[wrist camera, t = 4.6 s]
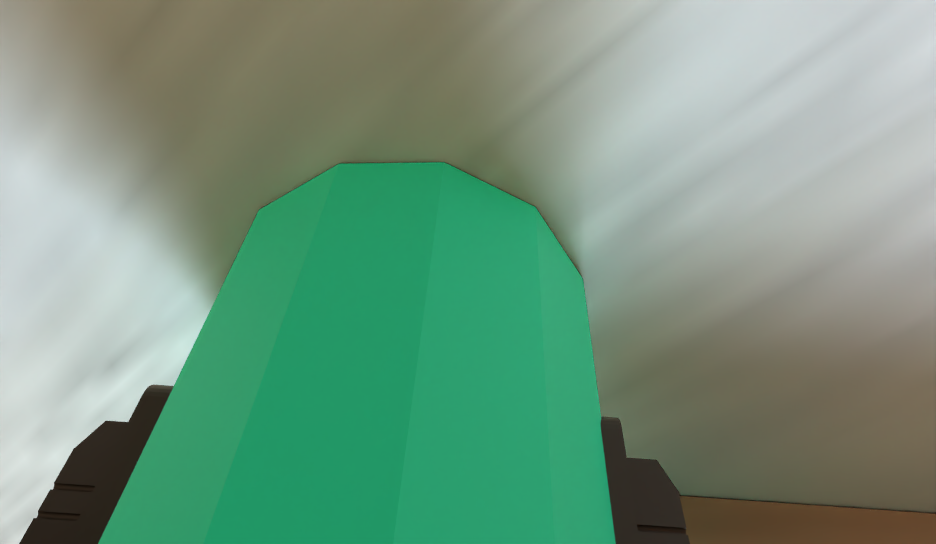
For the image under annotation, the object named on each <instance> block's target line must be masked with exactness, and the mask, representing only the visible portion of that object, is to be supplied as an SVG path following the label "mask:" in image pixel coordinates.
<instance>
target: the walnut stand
mask: <svg viewBox="0 0 936 544" xmlns="http://www.w3.org/2000/svg"><path fill="white" fill-rule="evenodd" d="M680 500H681V505H682V510H683V514H684V519H685V524H686V535H688V537H689V542H690V544H936V514H932V513H918V512H903V511H889V510H875V509H860V508H846V507H832V506H817V505H803V504H789V503H774V502H760V501H746V500H731V499H717V498H703V497H688V496H680Z"/></svg>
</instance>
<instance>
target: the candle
mask: <svg viewBox="0 0 936 544" xmlns="http://www.w3.org/2000/svg"><path fill="white" fill-rule="evenodd" d="M98 544H616V542H615V534H614V526H613V519H612V511H611V503H610V495H609V488H608V480H607V472H606V464H605V457H604V449H603V441H602V433H601V412H600V404H599V397H598V389H597V381H596V374H595V366H594V359H593V351H592V343H591V336H590V328H589V321H588V313H587V305H586V298H585V290H584V282H583V278H582V277H581V275H580V274H579V272H578V271H577V269H576V268H575V266H574V265H573V263H572V262H571V260H570V259H569V257H568V255H567V254H566V252H565V251H564V249H563V248H562V246H561V245H560V243H559V242H558V240H557V239H556V237H555V236H554V234H553V233H552V231H551V230H550V228H549V227H548V225H547V224H546V222H545V221H544V219H543V218H542V216H541V215H540V213H539V212H538V210H537V209H536V207H534V206H532V205H530V204H528V203H526V202H524V201H522V200H520V199H518V198H516V197H514V196H512V195H510V194H508V193H506V192H504V191H502V190H500V189H498V188H496V187H494V186H492V185H490V184H487V183H485V182H483V181H481V180H479V179H477V178H475V177H473V176H471V175H469V174H467V173H465V172H463V171H461V170H459V169H457V168H455V167H453V166H451V165H449V164H447V163H445V162H426V163H350V164H338V165H336V166H334V167H332V168H331V169H329V170H327V171H326V172H324V173H322V174H320V175H319V176H317V177H315V178H313V179H312V180H310V181H308V182H306V183H305V184H303V185H301V186H300V187H298V188H296V189H294V190H293V191H291V192H289V193H287V194H286V195H284V196H282V197H280V198H279V199H277V200H275V201H273V202H272V203H270V204H268V205H267V206H265V207H263V208H261V209H260V210H259V211H258V213H257V215H256V217H255V219H254V221H253V223H252V225H251V227H250V229H249V232H248V234H247V236H246V238H245V240H244V242H243V244H242V246H241V248H240V250H239V252H238V254H237V256H236V258H235V261H234V263H233V265H232V267H231V269H230V271H229V273H228V275H227V277H226V279H225V281H224V283H223V285H222V288H221V290H220V292H219V294H218V296H217V298H216V300H215V302H214V304H213V306H212V308H211V310H210V312H209V315H208V317H207V319H206V321H205V323H204V325H203V327H202V329H201V331H200V333H199V335H198V337H197V339H196V341H195V344H194V346H193V348H192V350H191V352H190V354H189V356H188V358H187V360H186V362H185V364H184V366H183V368H182V371H181V373H180V375H179V377H178V379H177V381H176V383H175V385H174V387H173V389H172V391H171V393H170V395H169V398H168V400H167V402H166V404H165V406H164V408H163V410H162V412H161V414H160V416H159V418H158V420H157V422H156V424H155V427H154V429H153V431H152V433H151V435H150V437H149V439H148V441H147V443H146V445H145V447H144V449H143V451H142V454H141V456H140V458H139V460H138V462H137V464H136V466H135V468H134V470H133V472H132V474H131V476H130V478H129V481H128V483H127V485H126V487H125V489H124V491H123V493H122V495H121V497H120V499H119V501H118V503H117V505H116V507H115V510H114V512H113V514H112V516H111V518H110V520H109V522H108V524H107V526H106V528H105V530H104V532H103V534H102V537H101V539H100V541H99V543H98Z"/></svg>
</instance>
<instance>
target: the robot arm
mask: <svg viewBox="0 0 936 544" xmlns="http://www.w3.org/2000/svg"><path fill="white" fill-rule="evenodd" d="M173 387H174V386H164V385H151V386H149V387H148V388H147V389H146V390H145V392H144V393H143V395H142V397H141V399H140V401H139V403H138V405H137V407H136V408H135V410H134V412H133V414H132V416H131V418H130V420H129V422H116V421H105V422H104V423H103V424H102V425H101V426H99V427H98V428H97V429H96V430H95V431H94V432H93V433H91V434H90V435H89V436H88V437H87V438H86V439H85V440H83V441H82V442H81V443H80V444H79V445H78V446H77V447H75V448H74V449H73V451H72V453H71V455H70V456H69V458H68V460H67V461H66V463H65V465H64V467H63V468H62V470H61V472H60V474H59V475H58V477H57V479H56V481H55V482H54V489H53V490H50V491H49V493H48V495H47V496H46V498H45V500H44V502H43V503H42V505H41V507H40V509H39V510H38V517H37V518H34V519H33V521H32V522H31V524H30V526H29V528H28V529H27V531H26V533H25V535H24V536H23V538H22V540H21V542H20V543H19V544H98V543H99V541H100V539H101V537H102V534H103V532H104V530H105V528H106V526H107V524H108V522H109V520H110V518H111V516H112V514H113V512H114V510H115V507H116V505H117V503H118V501H119V499H120V497H121V495H122V493H123V491H124V489H125V487H126V485H127V483H128V481H129V478H130V476H131V474H132V472H133V470H134V468H135V466H136V464H137V462H138V460H139V458H140V456H141V454H142V451H143V449H144V447H145V445H146V443H147V441H148V439H149V437H150V435H151V433H152V431H153V429H154V427H155V424H156V422H157V420H158V418H159V416H160V414H161V412H162V410H163V408H164V406H165V404H166V402H167V400H168V398H169V395H170V393H171V391H172V389H173ZM601 433H602V441H603V449H604V457H605V464H606V472H607V480H608V488H609V495H610V503H611V511H612V519H613V526H614V534H615V542H616V544H690V542H689V537H688V535H686V524H685V519H684V514H683V510H682V505H681V500H680V496H679V492H678V490H677V489H676V487H675V486H674V484H673V483H672V482H671V480H670V479H669V477H668V476H667V474H666V473H665V472H664V470H663V469H662V467H661V466H660V464H659V463H658V461H657V460H651V459H636V458H626V452H625V446H624V440H623V433H622V427H621V423H620V420H619V419H618V418H612V417H601Z"/></svg>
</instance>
